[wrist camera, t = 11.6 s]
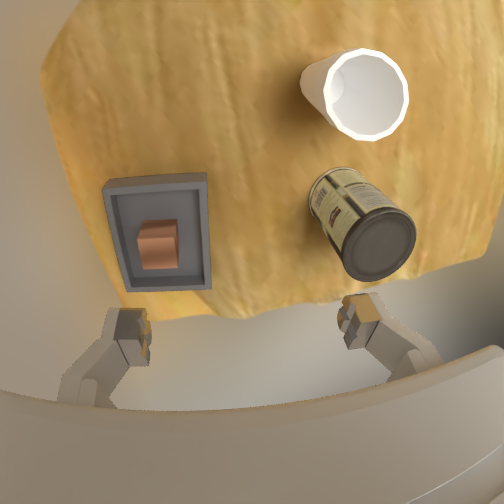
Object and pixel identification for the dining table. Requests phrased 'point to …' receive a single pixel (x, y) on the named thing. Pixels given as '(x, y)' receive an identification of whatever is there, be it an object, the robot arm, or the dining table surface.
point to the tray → (157, 208)
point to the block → (159, 244)
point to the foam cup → (357, 92)
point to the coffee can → (361, 224)
